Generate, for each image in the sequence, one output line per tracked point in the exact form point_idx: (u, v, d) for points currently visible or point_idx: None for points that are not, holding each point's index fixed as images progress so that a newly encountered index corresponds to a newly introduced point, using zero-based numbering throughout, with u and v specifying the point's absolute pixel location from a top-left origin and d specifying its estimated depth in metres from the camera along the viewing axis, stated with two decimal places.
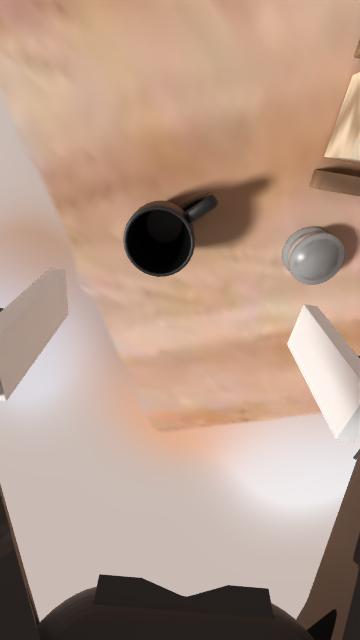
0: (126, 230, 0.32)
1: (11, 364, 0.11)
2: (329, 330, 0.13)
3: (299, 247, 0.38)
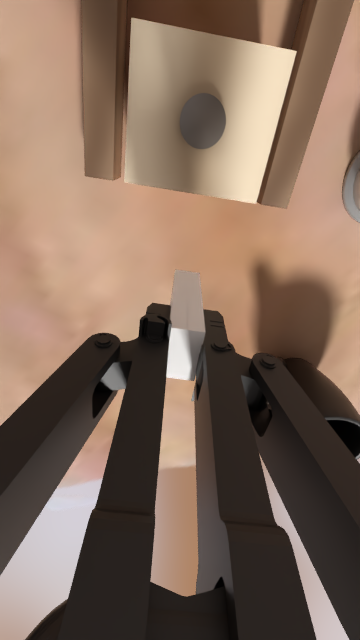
0: None
1: None
2: (193, 289, 0.15)
3: None
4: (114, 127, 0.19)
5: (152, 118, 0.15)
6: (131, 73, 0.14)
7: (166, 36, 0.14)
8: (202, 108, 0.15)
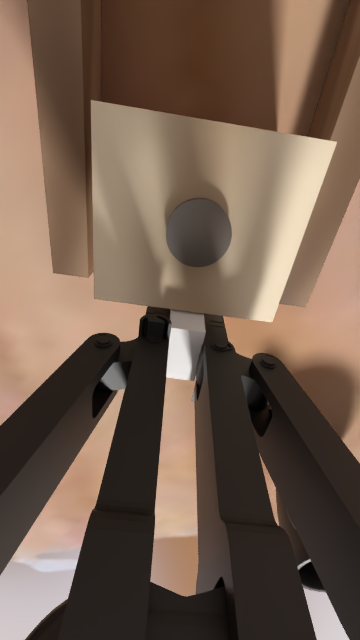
0: (316, 590, 0.23)
1: None
2: None
3: None
4: (87, 220, 0.15)
5: (127, 226, 0.11)
6: (95, 171, 0.10)
7: (144, 124, 0.09)
8: (198, 219, 0.10)
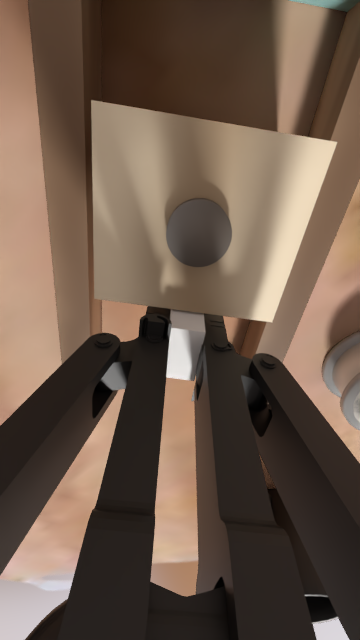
0: None
1: None
2: None
3: (359, 426, 0.21)
4: None
5: (128, 227, 0.11)
6: (96, 171, 0.10)
7: (144, 124, 0.09)
8: (198, 220, 0.10)
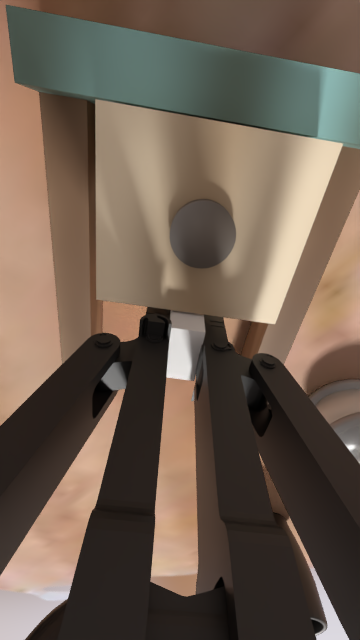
0: None
1: None
2: None
3: None
4: None
5: (131, 227, 0.11)
6: (99, 171, 0.10)
7: (148, 124, 0.09)
8: (202, 220, 0.10)
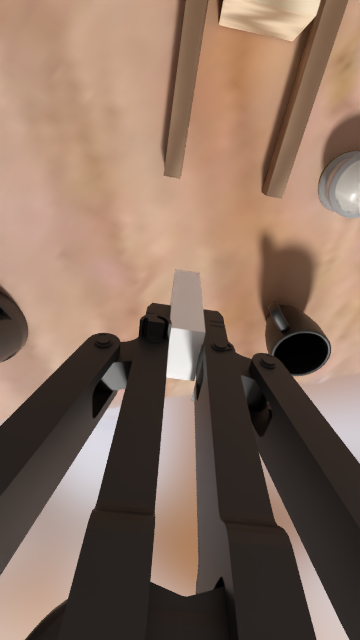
0: None
1: None
2: (193, 289, 0.15)
3: (339, 210, 0.35)
4: (184, 148, 0.34)
5: None
6: None
7: None
8: None
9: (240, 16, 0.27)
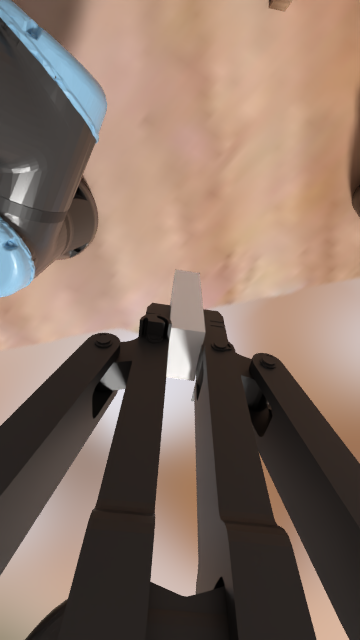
0: None
1: None
2: (193, 289, 0.15)
3: None
4: None
5: None
6: None
7: None
8: None
9: None
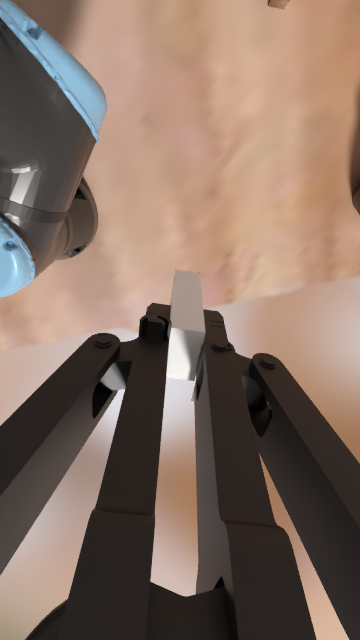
0: None
1: None
2: (193, 289, 0.15)
3: None
4: None
5: None
6: None
7: None
8: None
9: None
